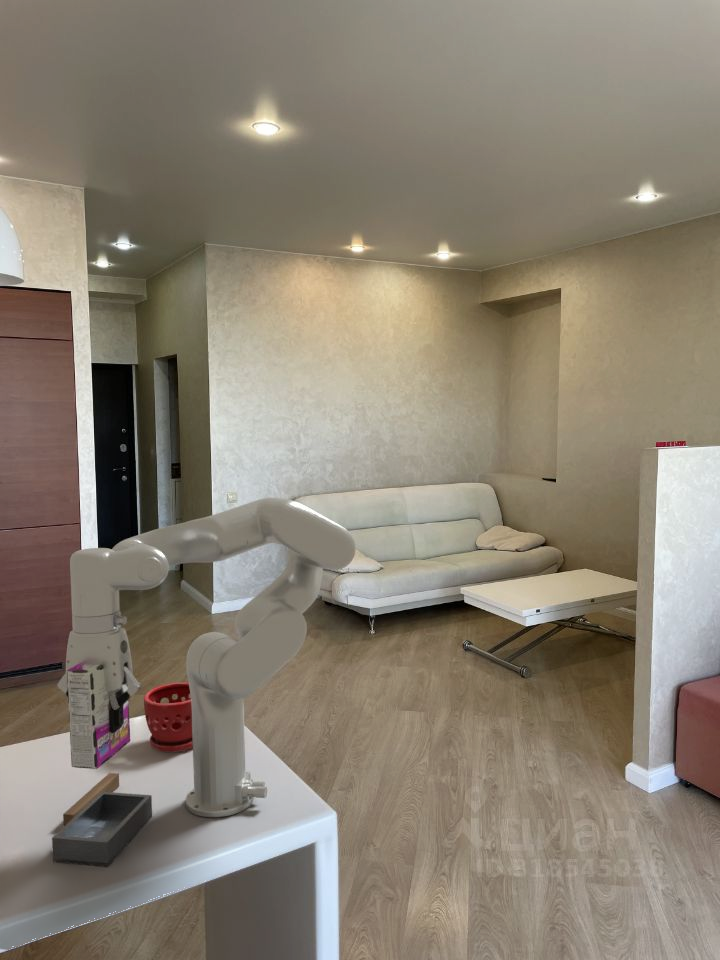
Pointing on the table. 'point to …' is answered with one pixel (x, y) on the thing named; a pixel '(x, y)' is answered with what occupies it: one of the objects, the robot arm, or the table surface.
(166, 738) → the plant pot
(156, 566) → the robot arm
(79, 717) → the candy bar box
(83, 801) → the door edge rail
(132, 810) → the keeper
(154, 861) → the table surface
